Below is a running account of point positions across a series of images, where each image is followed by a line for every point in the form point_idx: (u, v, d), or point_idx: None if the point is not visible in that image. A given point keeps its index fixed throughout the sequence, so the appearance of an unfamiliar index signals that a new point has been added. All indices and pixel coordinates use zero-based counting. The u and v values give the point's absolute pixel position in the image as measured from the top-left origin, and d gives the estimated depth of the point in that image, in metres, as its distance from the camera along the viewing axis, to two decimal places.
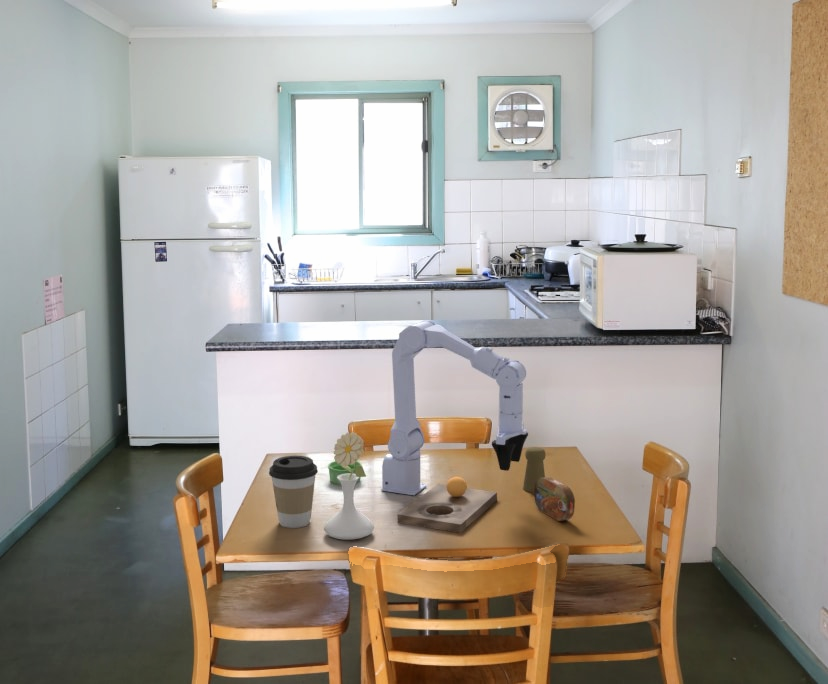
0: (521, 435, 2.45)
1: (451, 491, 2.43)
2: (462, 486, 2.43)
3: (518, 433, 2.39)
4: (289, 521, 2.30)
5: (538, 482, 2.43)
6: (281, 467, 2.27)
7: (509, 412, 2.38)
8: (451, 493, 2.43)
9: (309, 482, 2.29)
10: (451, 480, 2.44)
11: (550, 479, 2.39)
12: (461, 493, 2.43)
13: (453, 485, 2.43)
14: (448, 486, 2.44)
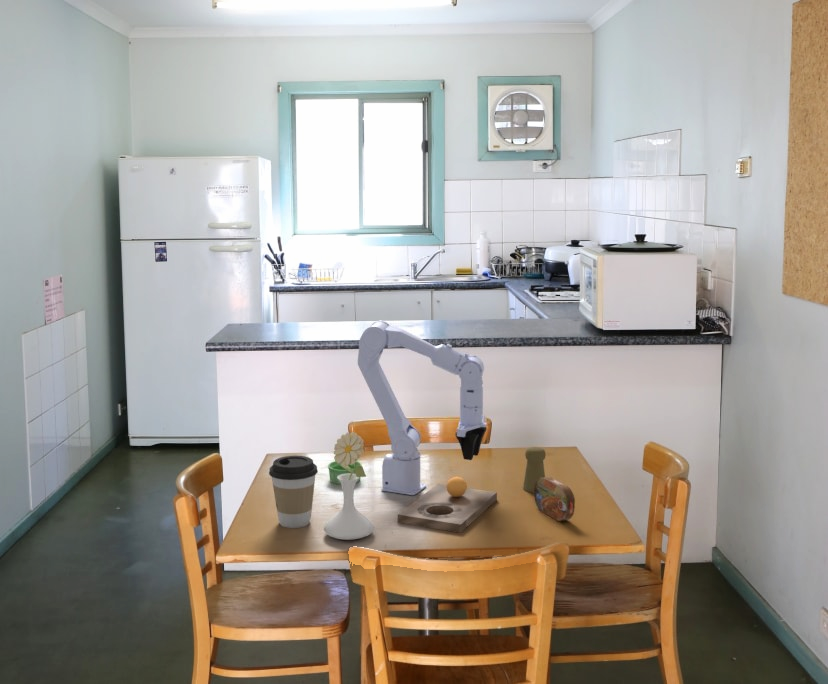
0: (479, 430, 2.52)
1: (451, 491, 2.43)
2: (462, 486, 2.43)
3: (478, 426, 2.48)
4: (289, 521, 2.30)
5: (538, 482, 2.43)
6: (281, 467, 2.27)
7: (472, 406, 2.47)
8: (451, 493, 2.43)
9: (309, 482, 2.29)
10: (451, 480, 2.44)
11: (550, 479, 2.39)
12: (461, 493, 2.43)
13: (453, 485, 2.43)
14: (448, 486, 2.44)
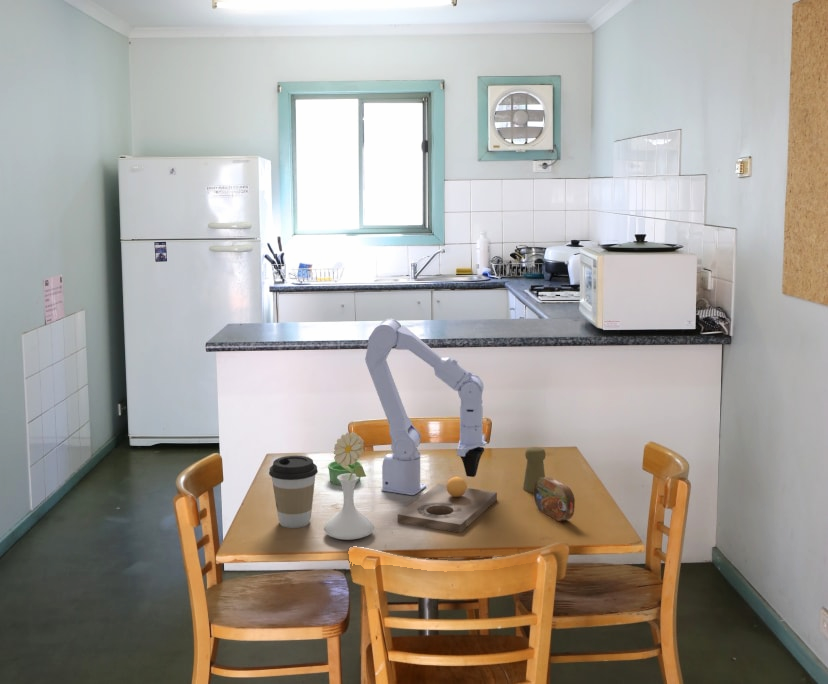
0: (477, 450, 2.52)
1: (451, 491, 2.43)
2: (462, 486, 2.43)
3: (478, 445, 2.49)
4: (289, 521, 2.30)
5: (538, 482, 2.43)
6: (281, 467, 2.27)
7: (472, 425, 2.48)
8: (451, 493, 2.43)
9: (309, 482, 2.29)
10: (451, 480, 2.44)
11: (550, 479, 2.39)
12: (461, 493, 2.43)
13: (453, 485, 2.43)
14: (448, 486, 2.44)
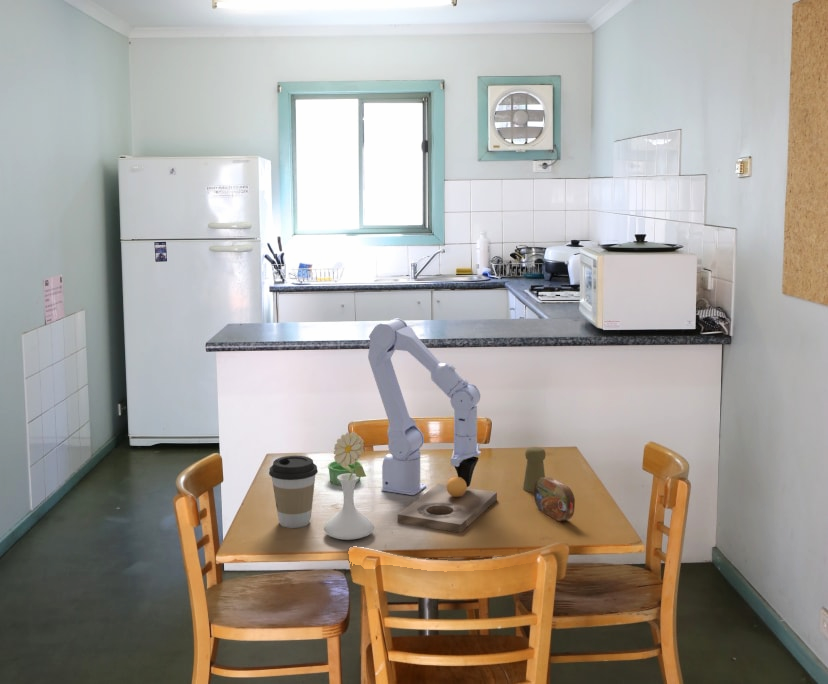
0: (471, 460, 2.48)
1: (451, 491, 2.43)
2: (462, 486, 2.43)
3: (472, 455, 2.46)
4: (289, 521, 2.30)
5: (538, 482, 2.43)
6: (281, 467, 2.27)
7: (464, 434, 2.45)
8: (451, 493, 2.43)
9: (309, 482, 2.29)
10: (451, 480, 2.44)
11: (550, 479, 2.39)
12: (461, 493, 2.43)
13: (453, 485, 2.43)
14: (448, 486, 2.44)
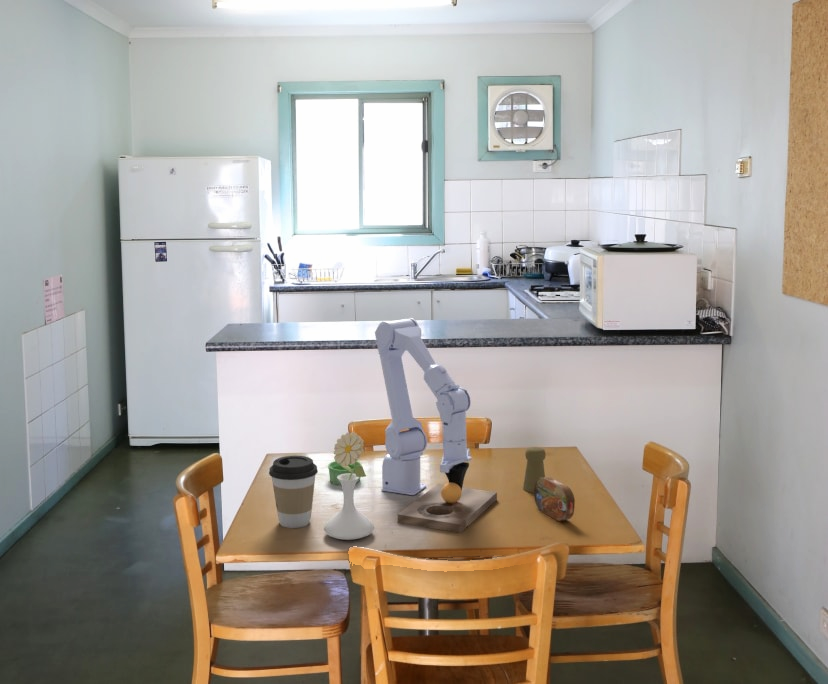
0: (462, 466, 2.41)
1: None
2: (458, 499, 2.40)
3: (462, 460, 2.38)
4: (289, 521, 2.30)
5: (538, 482, 2.43)
6: (281, 467, 2.27)
7: (447, 439, 2.38)
8: None
9: (309, 482, 2.29)
10: (446, 501, 2.40)
11: (550, 479, 2.39)
12: None
13: None
14: None
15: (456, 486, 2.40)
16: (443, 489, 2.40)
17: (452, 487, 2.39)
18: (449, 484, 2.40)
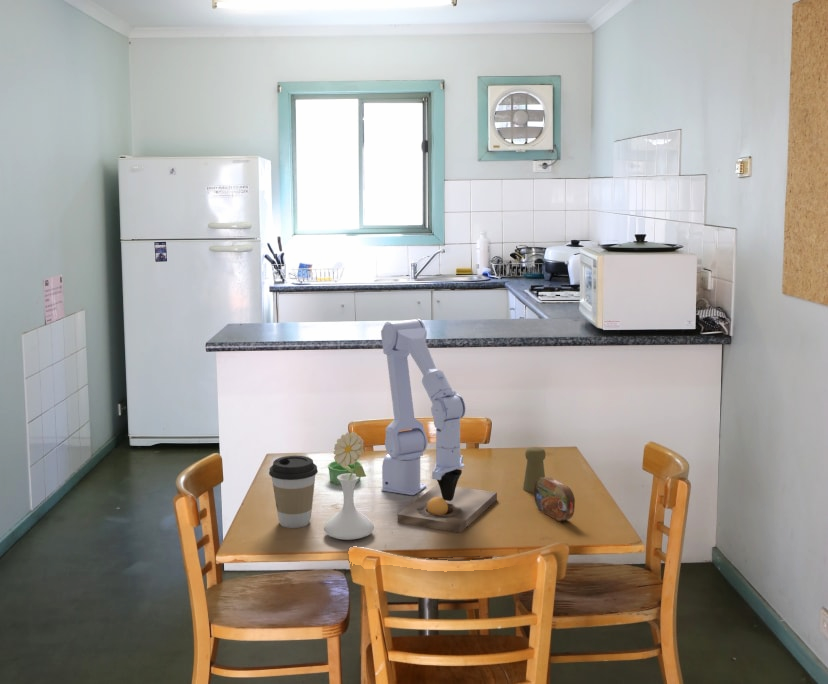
0: (454, 473, 2.39)
1: None
2: None
3: (455, 467, 2.36)
4: (289, 521, 2.30)
5: (538, 482, 2.43)
6: (281, 467, 2.27)
7: (440, 445, 2.36)
8: None
9: (309, 482, 2.29)
10: None
11: (550, 479, 2.39)
12: (441, 498, 2.36)
13: None
14: None
15: (442, 512, 2.34)
16: None
17: None
18: None
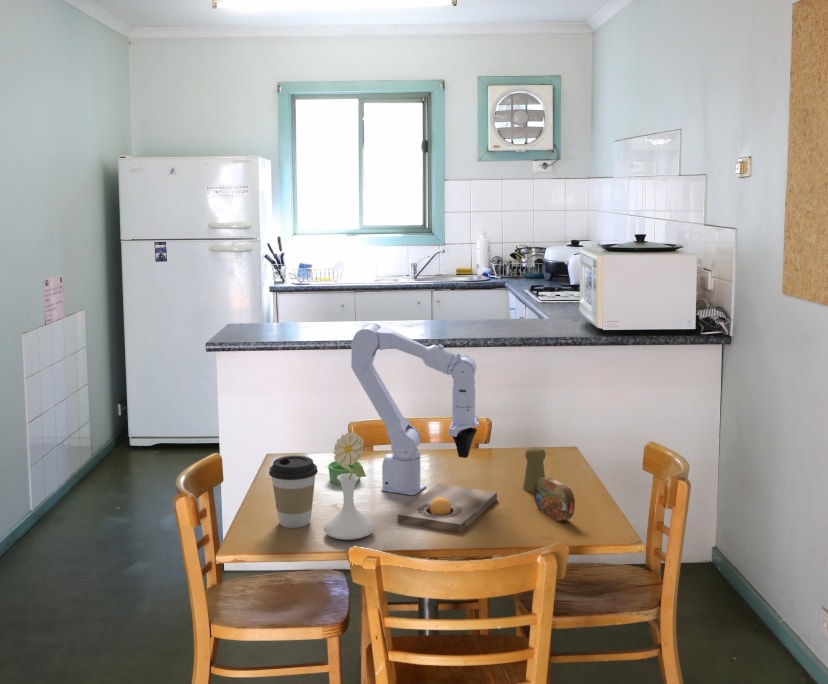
0: (469, 431, 2.51)
1: None
2: None
3: (470, 425, 2.48)
4: (289, 521, 2.30)
5: (538, 482, 2.43)
6: (281, 467, 2.27)
7: (465, 405, 2.47)
8: None
9: (309, 482, 2.29)
10: None
11: (550, 479, 2.39)
12: (447, 500, 2.36)
13: None
14: None
15: (444, 514, 2.34)
16: None
17: None
18: None
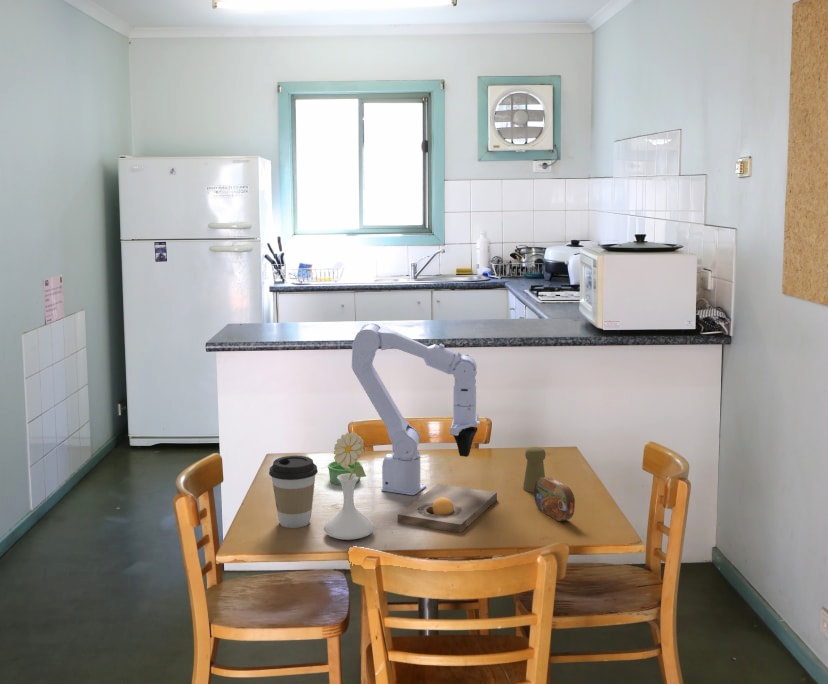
0: (470, 430, 2.52)
1: None
2: None
3: (471, 424, 2.50)
4: (289, 521, 2.30)
5: (538, 482, 2.43)
6: (281, 467, 2.27)
7: (466, 404, 2.48)
8: None
9: (309, 482, 2.29)
10: None
11: (550, 479, 2.39)
12: (451, 502, 2.36)
13: None
14: None
15: None
16: None
17: None
18: None
